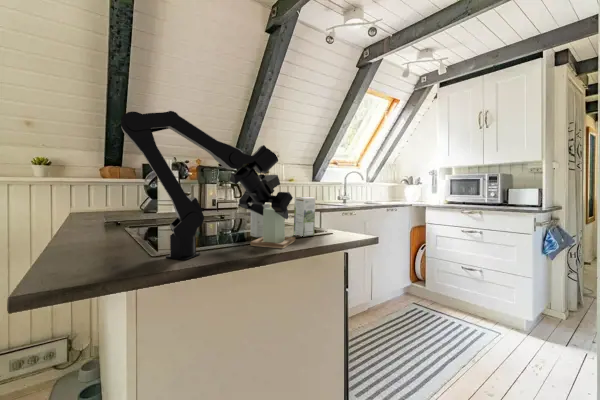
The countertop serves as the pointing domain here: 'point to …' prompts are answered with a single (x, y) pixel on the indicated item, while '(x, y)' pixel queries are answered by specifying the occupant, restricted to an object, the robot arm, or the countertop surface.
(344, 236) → the countertop surface
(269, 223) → the pale green tall block
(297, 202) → the syrup box
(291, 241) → the groove board
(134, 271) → the countertop surface
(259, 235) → the skincare box
